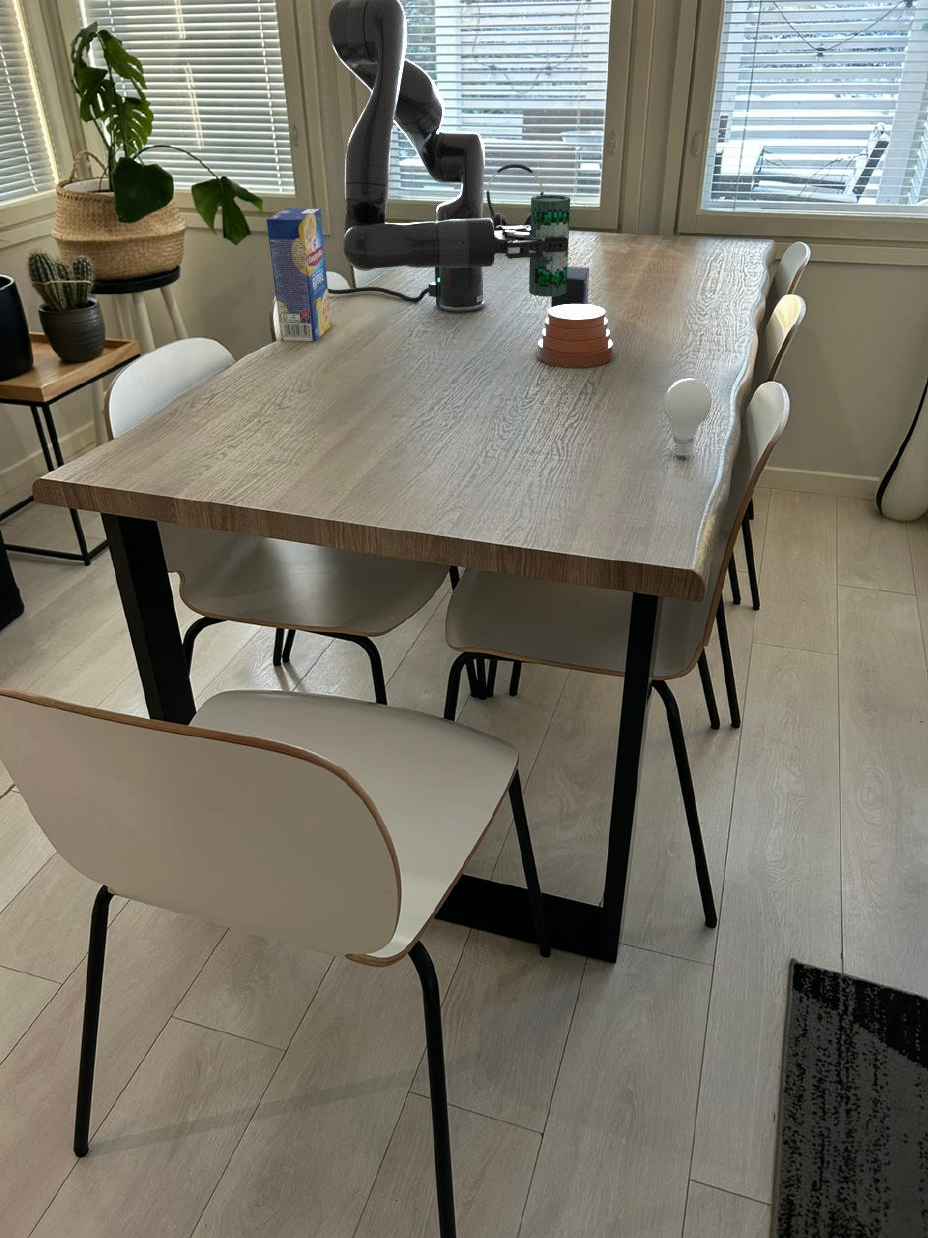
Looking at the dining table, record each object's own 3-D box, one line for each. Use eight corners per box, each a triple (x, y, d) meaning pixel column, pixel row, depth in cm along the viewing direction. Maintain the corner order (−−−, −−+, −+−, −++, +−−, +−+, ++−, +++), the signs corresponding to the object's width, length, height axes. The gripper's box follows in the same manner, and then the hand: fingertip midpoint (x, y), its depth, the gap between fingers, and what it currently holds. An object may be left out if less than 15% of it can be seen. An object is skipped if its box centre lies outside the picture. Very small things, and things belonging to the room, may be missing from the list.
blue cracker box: (331, 325, 196) (320, 208, 184) (315, 341, 186) (302, 219, 175) (299, 324, 197) (285, 208, 185) (281, 340, 188) (266, 219, 176)
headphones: (539, 251, 249) (541, 166, 238) (483, 249, 252) (482, 165, 241) (545, 244, 256) (546, 161, 245) (490, 243, 259) (489, 160, 248)
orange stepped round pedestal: (523, 359, 174) (524, 314, 170) (564, 341, 183) (565, 297, 179) (586, 372, 167) (588, 325, 163) (625, 353, 176) (628, 308, 172)
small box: (582, 335, 186) (585, 278, 180) (549, 334, 187) (550, 277, 181) (588, 320, 195) (590, 265, 189) (555, 319, 196) (557, 265, 190)
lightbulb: (653, 448, 138) (660, 373, 132) (697, 446, 139) (706, 371, 133) (665, 466, 133) (673, 388, 127) (710, 464, 133) (720, 386, 127)
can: (541, 298, 163) (544, 202, 155) (523, 290, 167) (525, 196, 159) (572, 293, 165) (576, 198, 157) (553, 285, 170) (556, 193, 162)
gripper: (469, 227, 152) (573, 223, 154) (459, 211, 165) (555, 207, 166) (469, 277, 157) (571, 272, 158) (459, 257, 169) (554, 253, 170)
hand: (562, 239), depth 162 cm, fingers closed on can, 6 cm apart
